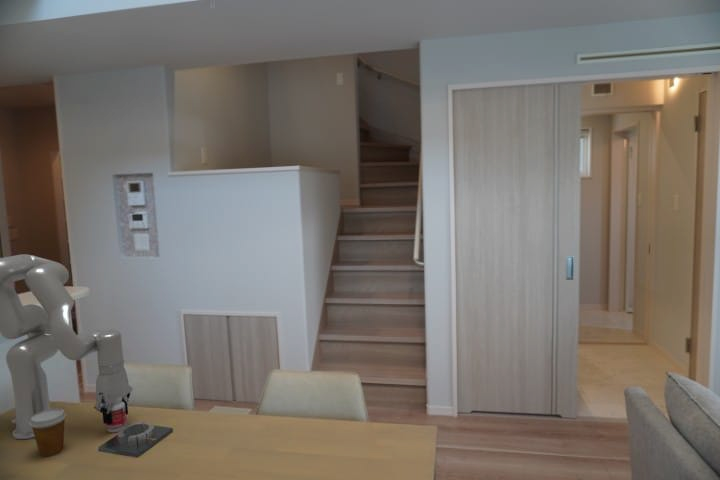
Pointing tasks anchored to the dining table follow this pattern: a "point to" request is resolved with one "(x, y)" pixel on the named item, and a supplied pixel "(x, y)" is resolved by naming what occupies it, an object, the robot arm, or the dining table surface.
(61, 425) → the disposable coffee cup
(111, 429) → the pill bottle
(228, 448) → the dining table surface
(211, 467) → the dining table surface
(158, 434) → the socket plate
